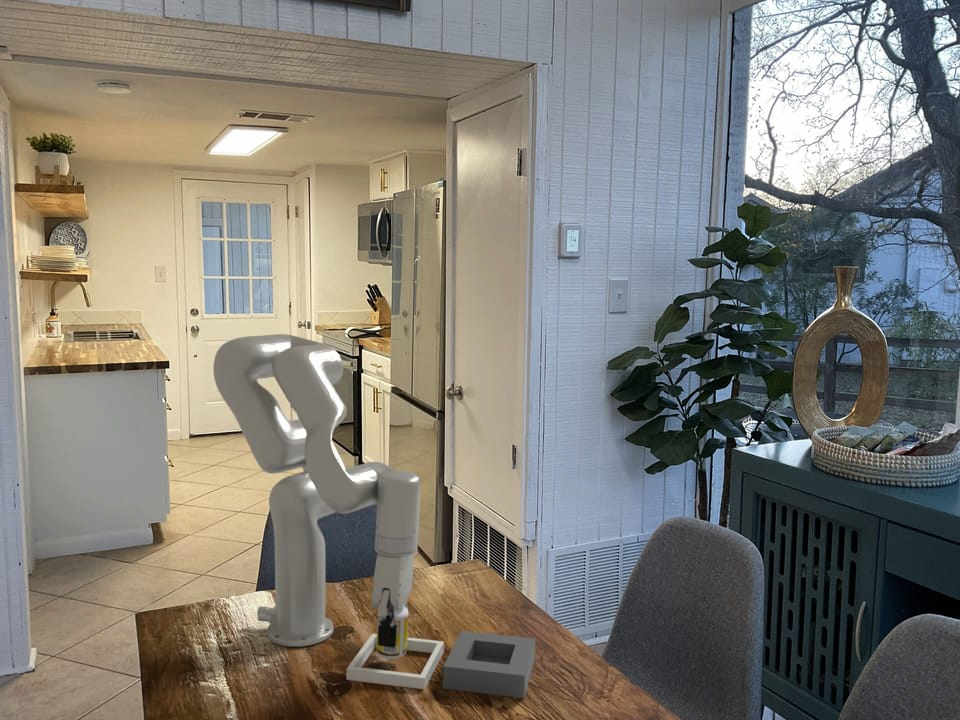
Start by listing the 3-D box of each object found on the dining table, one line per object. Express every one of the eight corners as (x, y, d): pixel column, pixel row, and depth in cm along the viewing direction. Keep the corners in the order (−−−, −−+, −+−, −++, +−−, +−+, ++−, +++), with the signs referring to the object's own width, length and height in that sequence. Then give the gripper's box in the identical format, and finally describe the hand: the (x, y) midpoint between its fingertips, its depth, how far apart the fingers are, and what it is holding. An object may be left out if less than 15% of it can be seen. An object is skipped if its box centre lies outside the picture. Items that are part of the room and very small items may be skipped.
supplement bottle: (396, 642, 150) (399, 590, 149) (412, 655, 146) (415, 601, 144) (370, 650, 147) (372, 596, 145) (385, 663, 142) (388, 608, 141)
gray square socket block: (443, 688, 138) (443, 666, 137) (460, 651, 152) (461, 630, 151) (524, 698, 135) (524, 675, 135) (534, 659, 149) (535, 638, 149)
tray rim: (346, 679, 140) (346, 668, 140) (372, 643, 154) (372, 633, 154) (424, 689, 138) (424, 678, 137) (443, 651, 151) (444, 641, 151)
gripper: (390, 523, 152) (386, 614, 155) (360, 556, 136) (356, 657, 138) (429, 528, 151) (424, 620, 153) (403, 561, 134) (398, 664, 137)
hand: (392, 636), depth 146 cm, fingers closed on supplement bottle, 5 cm apart
